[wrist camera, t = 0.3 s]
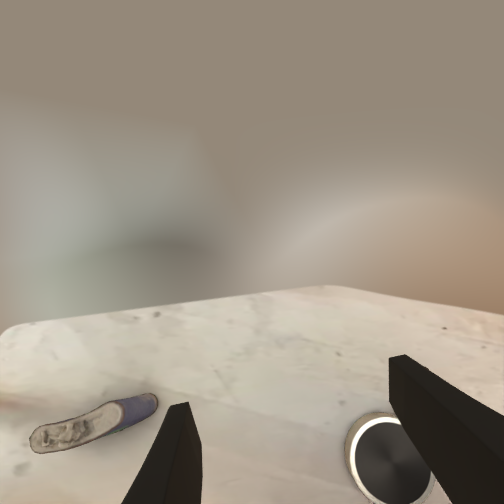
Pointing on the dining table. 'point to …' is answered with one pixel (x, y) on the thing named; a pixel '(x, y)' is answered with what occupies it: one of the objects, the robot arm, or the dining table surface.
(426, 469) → the steel pan
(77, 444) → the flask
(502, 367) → the dining table surface
